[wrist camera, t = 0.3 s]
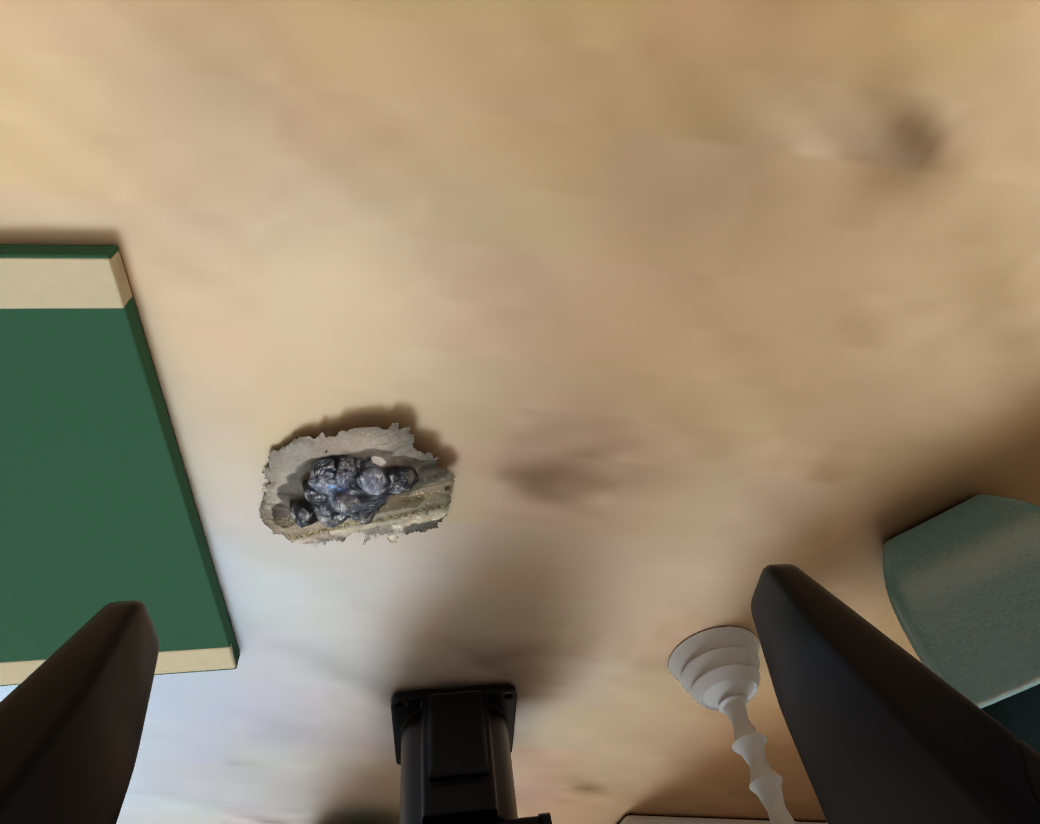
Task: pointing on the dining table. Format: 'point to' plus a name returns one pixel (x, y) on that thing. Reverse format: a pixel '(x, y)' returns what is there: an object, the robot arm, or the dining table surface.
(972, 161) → the dining table surface
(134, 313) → the green flat rectangular block
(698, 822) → the cereal box
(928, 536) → the flower pot
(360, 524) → the blueberries
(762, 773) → the chalice
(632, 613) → the dining table surface
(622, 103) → the dining table surface
